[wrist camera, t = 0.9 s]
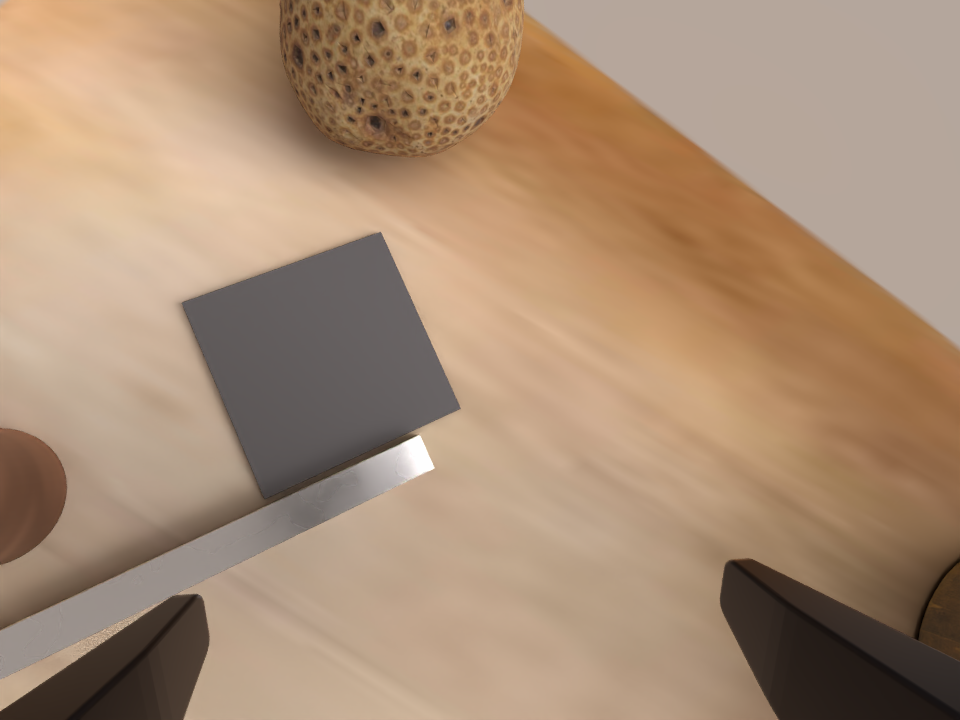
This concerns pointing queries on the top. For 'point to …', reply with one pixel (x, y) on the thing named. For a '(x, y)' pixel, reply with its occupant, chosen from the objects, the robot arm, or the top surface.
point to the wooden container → (944, 616)
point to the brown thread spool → (27, 492)
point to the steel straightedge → (206, 556)
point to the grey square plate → (320, 361)
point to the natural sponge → (400, 68)
